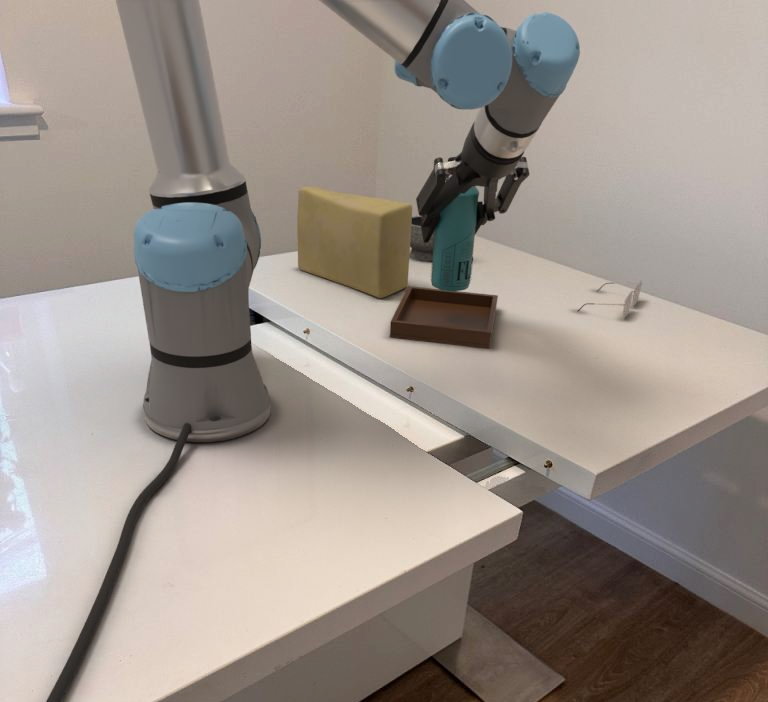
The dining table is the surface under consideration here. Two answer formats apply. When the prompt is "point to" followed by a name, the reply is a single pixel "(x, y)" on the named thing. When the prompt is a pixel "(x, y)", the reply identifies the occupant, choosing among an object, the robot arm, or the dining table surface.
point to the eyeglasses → (628, 298)
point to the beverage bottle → (455, 242)
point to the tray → (445, 317)
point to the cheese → (354, 240)
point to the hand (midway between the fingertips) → (446, 233)
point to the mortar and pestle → (420, 242)
